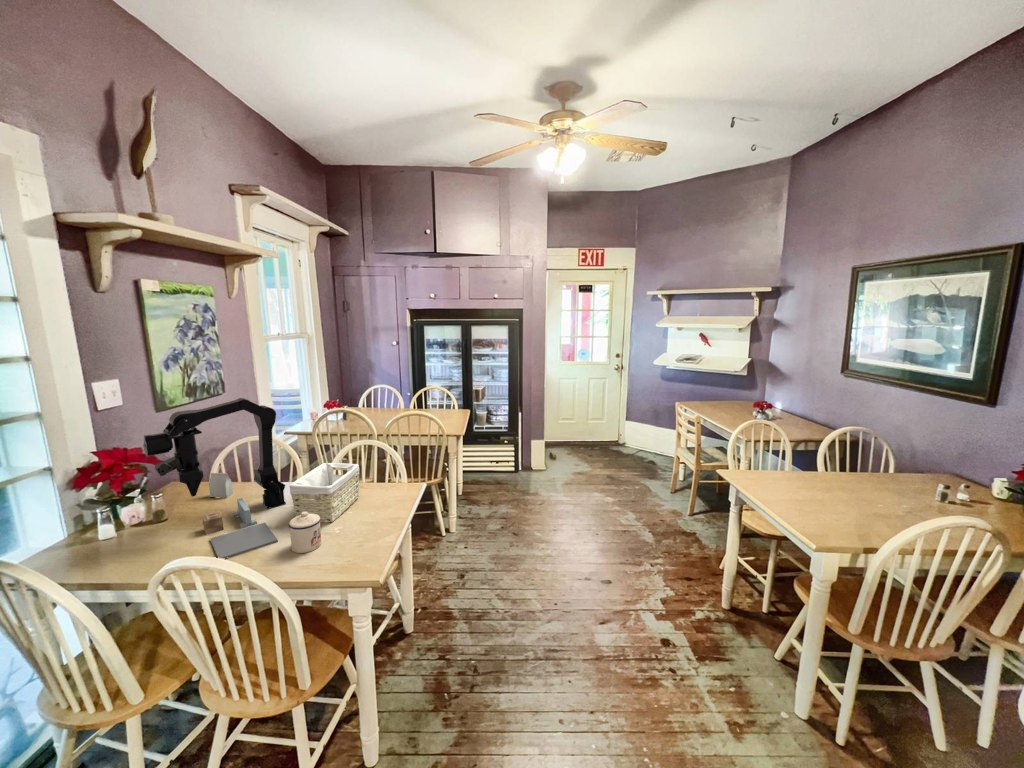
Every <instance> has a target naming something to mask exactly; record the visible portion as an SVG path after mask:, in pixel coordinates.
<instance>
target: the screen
mask: <svg viewBox="0 0 1024 768" xmlns="http://www.w3.org/2000/svg"><path fill="white" fill-rule="evenodd" d="M237 509H238V511H236V512H233V513H232V516H233V517H234V518H238V517H239V518H240V519H241V520H242V522H241V523H239V525H238V526H239V528H240V529H244V528H248V527H251V526H254V525H258V521H257V520H256V519H252V516H251V509H250V507H249V506H248V505H247V503H246V502H245V500H244V499H243V497H241V498H237Z"/></svg>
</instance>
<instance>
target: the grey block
mask: <svg viewBox="0 0 1024 768" xmlns="http://www.w3.org/2000/svg"><path fill="white" fill-rule="evenodd" d="M208 487H209V497H220V498H219V499H228V498H230V497H232V496H233V495H232V494H234V492H233V482H232V479H231V478H230V476H229V473H227V472H211V473H210V478H209V483H208ZM229 496H230V497H229ZM227 497H228V498H227Z"/></svg>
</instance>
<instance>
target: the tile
mask: <svg viewBox="0 0 1024 768" xmlns="http://www.w3.org/2000/svg"><path fill="white" fill-rule="evenodd" d="M278 541H279V539H278V538H277V537H276V535H275V534H274V532H273V531H272V530H271V529H270V527H269V526H268V525H267V523H266V522H261V523H257V524H255V525H251V526H248V527H244V528H240V529H237V530H233V531H230V532H227V533H224V534H220V535H217V536H214V537H210V543H211V546H212V548H213V550H214V552H215V554H216V557H217V558H218V557H219V558H225V559H224V560H228V558H227V557H230V558H233V557H236V556H240V555H243V554H245V553H249V552H251V551H254V550H258V549H260V548H263V547H267V546H270V545H272V544H277V543H278Z"/></svg>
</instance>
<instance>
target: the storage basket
mask: <svg viewBox="0 0 1024 768" xmlns="http://www.w3.org/2000/svg"><path fill="white" fill-rule="evenodd" d="M334 470H335V471H346V473H345V474H334ZM359 485H360V465H359V464H358V463H341V462H340V463H339V462H324V463H322V464H319V465H318V466H317V467H315V468H313V469H312V470H310V471H308V472H306V473H305V474H304V475H303V476H301V477H299V478H298V479H296V480H294V481H293V482H291V484H289V492H290V493H289V494H290V495H291V500H292V504H293V510H294V513H295V517H297V516H300V515H301V513H302V512H305V511H306V512H308V513H309V514H317V515H319V516H320V518H321V520H320V523H333V522H334V521H335V520H337V519H338V517H340V516H341V515H342V514H343V513H344V512H345V511H346V510H347V509H348V508H349V507H350V506H351V505H352V504H354V502H355V501H356V500H357V499H359V497H360V496H359V493H360V491H359V490H360V487H359Z"/></svg>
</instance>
